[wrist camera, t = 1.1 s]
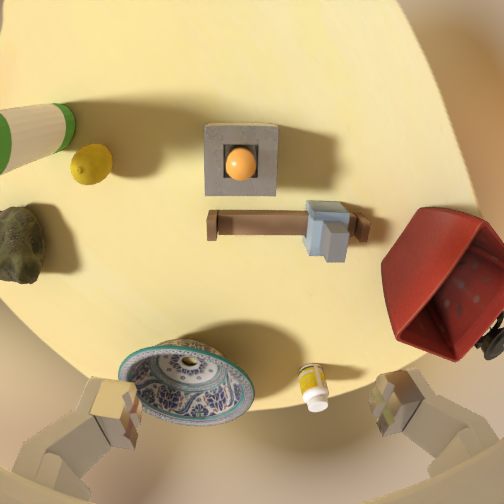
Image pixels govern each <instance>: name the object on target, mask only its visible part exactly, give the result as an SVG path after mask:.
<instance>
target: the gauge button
mask: <svg viewBox="0 0 504 504" xmlns="http://www.w3.org/2000/svg"><path fill="white" fill-rule="evenodd" d="M226 170H227V173H228V174H229V176H230V177H231V178H233V179H235V180H238V181H243V180H247V179H249V178H250V177H252V175H253V174H254V172H255V170H256V162H255V159H254V156H253V153H252V151H251V150H250V149H249V148H247V147H245V146H236V147H234V148H233V149H232V150H231V151H230V152H229V154H228V158H227V162H226Z"/></svg>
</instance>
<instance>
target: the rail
mask: <svg viewBox="0 0 504 504" xmlns="http://www.w3.org/2000/svg"><path fill="white" fill-rule="evenodd" d="M308 217H309V213H308V211H283V210H219V213H218V210H209V213H208V217H207V241H216V239H217V233H218V231H219V235H307V227H308ZM369 229H370V222H369V221H368V220H367V219H366V218H365V217H364V216H363V215H362V214H361V213H350V217H349V224H348V230H347V231H348V232H349V233H350V235H349V236H354V235H355V237H356V238H357V239H358V240H359V241H360V242H367V239H368V234H369Z"/></svg>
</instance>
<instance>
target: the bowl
mask: <svg viewBox="0 0 504 504" xmlns="http://www.w3.org/2000/svg"><path fill="white" fill-rule="evenodd" d="M184 357H192V358H194V359H196V360H197V364H196V365H194V366H188V365H185V364H184V363H183V362H182V359H183V358H184ZM118 379H119V381H125V382H132V383H135V386H136V389H137V392H136V396H137V397H138V398H139V399H140V401H141V405H142V410H143V411H145V412H146V413H148V414H150V415H152V416H154V417H157V418H159V419H162V420H165V421H168V422H171V423H175V424H181V425H187V426H212V425H218V424H223V423H226V422H229V421H231V420H234V419H236V418H238V417H239V416H241V415H243V414H244V413H245V412H246V411H247V410H248V409H249V408H250V407H251V405H252V403H253V400H254V396H255V391H254V386H253V384H252V381H251V380H250V378H249V377H248V375H247V374H246V373H245V372H244V371H243V370H242V369H241V368H240V367H238V366H237V365H235V364H234V363H232V362H231V361H229V360H228V359H227V358H226V357H225V356H224V355H223V354H222V353H220V352H219V351H218V350H216V349H215V348H213V347H211V346H209V345H207V344H204V343H202V342H200V341H196V340H192V339H175V340H169V341H165V342H162V343H159V344H157V345H155V346H152V347H147V348H144V349H140V350H138V351H136V352H134V353H132V354H130V355H129V356H128V357H127V358H126V359H125V360H124V361H123V362H122V364H121V366H120V368H119V372H118Z"/></svg>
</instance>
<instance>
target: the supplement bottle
mask: <svg viewBox="0 0 504 504" xmlns="http://www.w3.org/2000/svg"><path fill="white" fill-rule="evenodd" d="M298 377H299V382H300V387H301V392H302V397H303V400H304V401H305V402H306V403H307V404H308V409H309V410H310V411H311V412H319V411H322V410H324V409H325V408H327V407H328V401H327V397H328V395H329V391H328V387H327V384H326V380H325V376H324V373H323V369H322V367H321V366H320V365H318V364H308V365H305V366H303V367H302V368H301V369H300V370H299V372H298Z"/></svg>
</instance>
